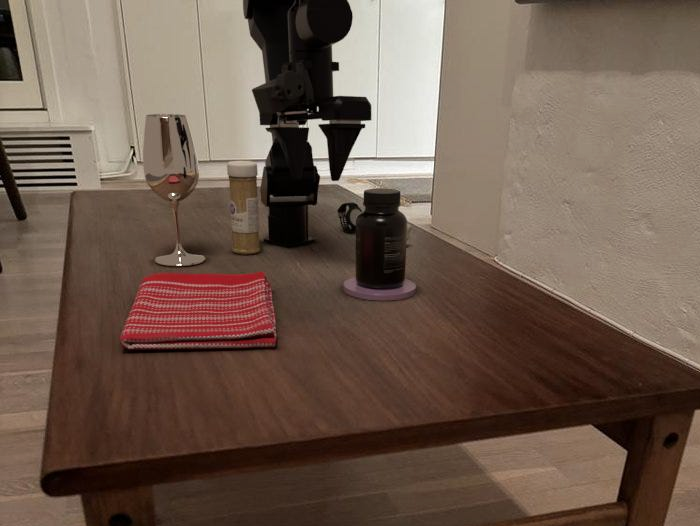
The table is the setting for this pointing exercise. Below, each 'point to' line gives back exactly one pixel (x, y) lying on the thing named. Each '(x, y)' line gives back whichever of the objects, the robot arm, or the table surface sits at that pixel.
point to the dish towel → (201, 312)
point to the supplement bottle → (381, 240)
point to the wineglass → (171, 172)
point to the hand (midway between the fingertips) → (315, 180)
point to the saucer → (379, 291)
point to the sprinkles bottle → (244, 206)
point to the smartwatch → (349, 216)
